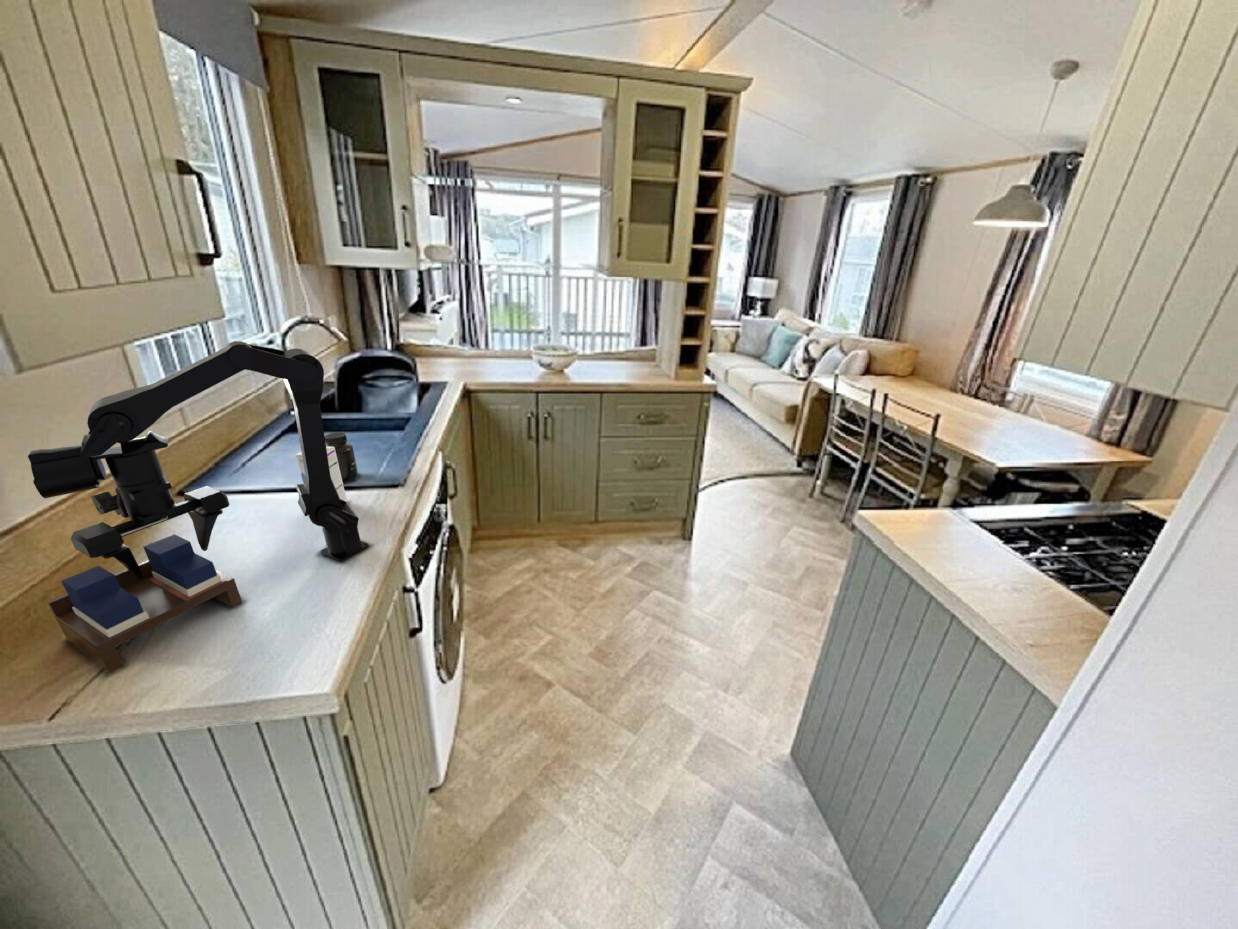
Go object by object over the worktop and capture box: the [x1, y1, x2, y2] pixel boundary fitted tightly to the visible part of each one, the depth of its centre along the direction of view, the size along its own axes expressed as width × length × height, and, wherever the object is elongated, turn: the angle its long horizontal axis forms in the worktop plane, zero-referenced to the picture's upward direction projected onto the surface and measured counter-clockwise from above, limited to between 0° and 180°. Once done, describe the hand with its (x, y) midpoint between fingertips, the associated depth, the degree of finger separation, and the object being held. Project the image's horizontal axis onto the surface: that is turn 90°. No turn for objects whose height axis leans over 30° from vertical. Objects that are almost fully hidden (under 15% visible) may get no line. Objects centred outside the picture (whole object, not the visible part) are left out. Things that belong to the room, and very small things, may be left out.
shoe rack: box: [46, 559, 243, 674], centre depth 83 cm, size 14×18×7 cm
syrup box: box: [295, 445, 348, 503], centre depth 117 cm, size 6×6×14 cm
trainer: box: [142, 533, 222, 597], centre depth 85 cm, size 11×5×6 cm, turn 62°
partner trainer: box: [60, 565, 149, 638], centre depth 77 cm, size 11×5×6 cm, turn 62°
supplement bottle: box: [324, 431, 359, 484], centre depth 132 cm, size 7×7×12 cm
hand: (173, 563), depth 87 cm, fingers open, 9 cm apart
